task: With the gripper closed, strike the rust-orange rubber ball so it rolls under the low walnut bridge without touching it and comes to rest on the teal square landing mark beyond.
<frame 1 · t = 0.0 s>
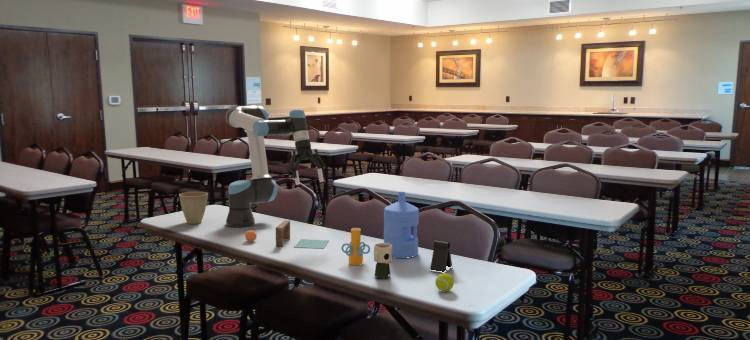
hand: (310, 183, 272), 28 cm above the table, tool tilted 20°, fingers open, 13 cm apart
orange post with rings: (355, 264, 238), on the table
character mug: (382, 277, 220), on the table
tennis ball: (444, 291, 206), on the table
landing mark: (311, 244, 267), on the table
plant pot: (194, 222, 307), on the table
bridge: (283, 242, 268), on the table
water jug: (400, 254, 252), on the table
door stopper: (441, 270, 231), on the table
ball: (250, 235, 270), on the table
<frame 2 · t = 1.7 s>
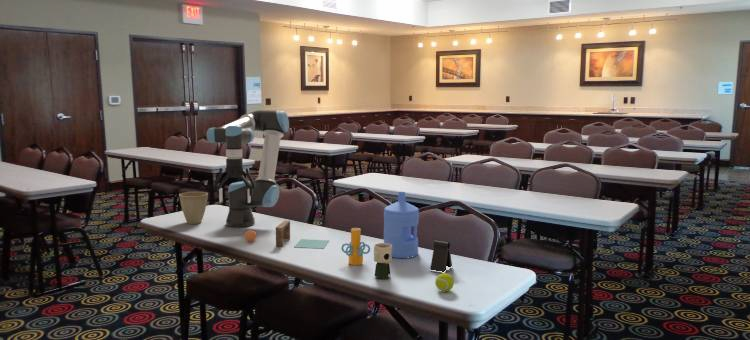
hand: (235, 202, 268), 19 cm above the table, tool pointing down, fingers open, 13 cm apart
nothing on the table moved.
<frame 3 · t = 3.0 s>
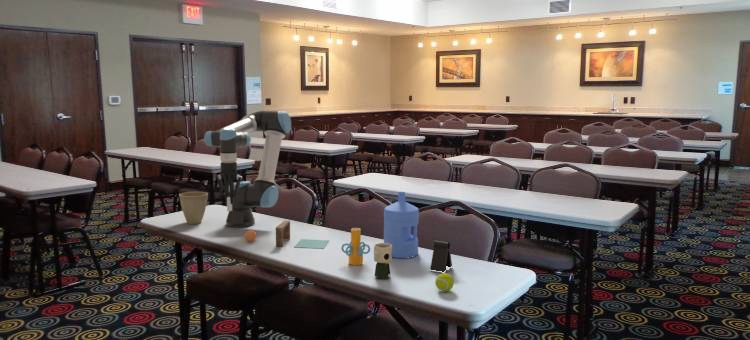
hand: (229, 210, 269), 15 cm above the table, tool pointing down, fingers closed
nothing on the table moved.
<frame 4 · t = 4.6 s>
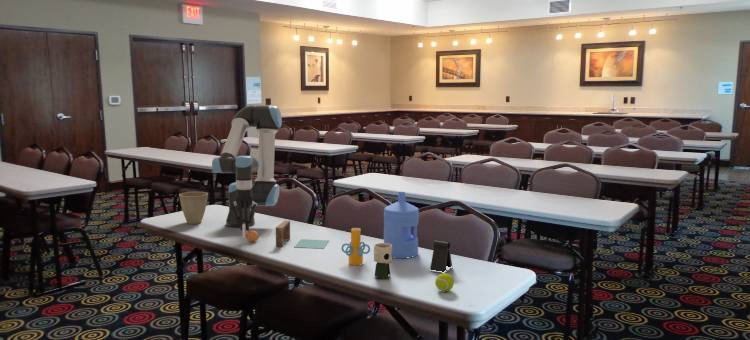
hand: (244, 237, 269), 2 cm above the table, tool pointing down, fingers closed
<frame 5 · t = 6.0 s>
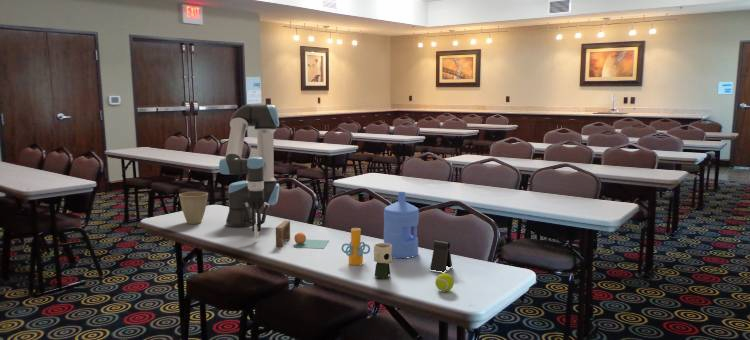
hand: (256, 237, 269), 2 cm above the table, tool pointing down, fingers closed
ball: (300, 238, 266), on the table
everything else where it was.
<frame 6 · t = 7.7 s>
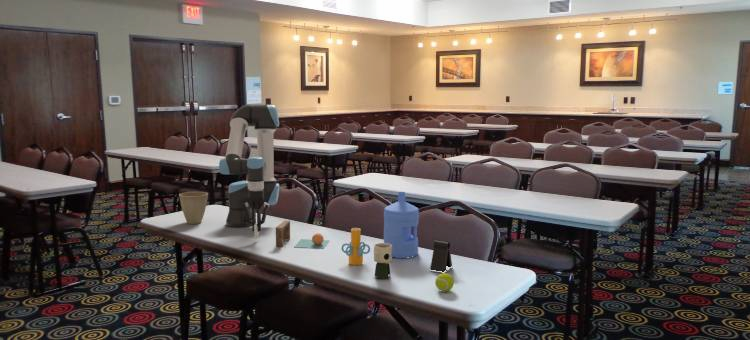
hand: (256, 237, 269), 2 cm above the table, tool pointing down, fingers closed
ball: (317, 239, 265), on the table
everything else where it was.
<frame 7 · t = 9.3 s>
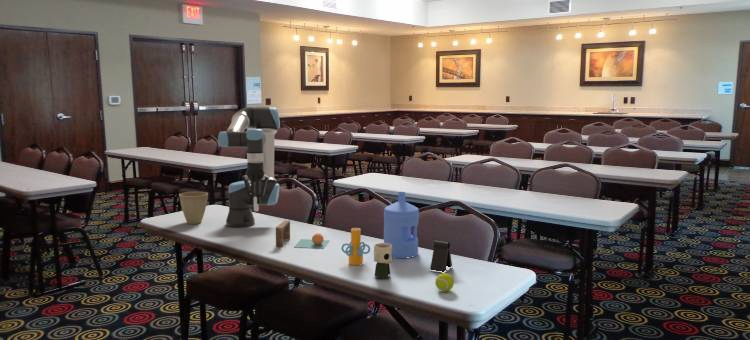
hand: (256, 210, 268), 15 cm above the table, tool pointing down, fingers closed
nothing on the table moved.
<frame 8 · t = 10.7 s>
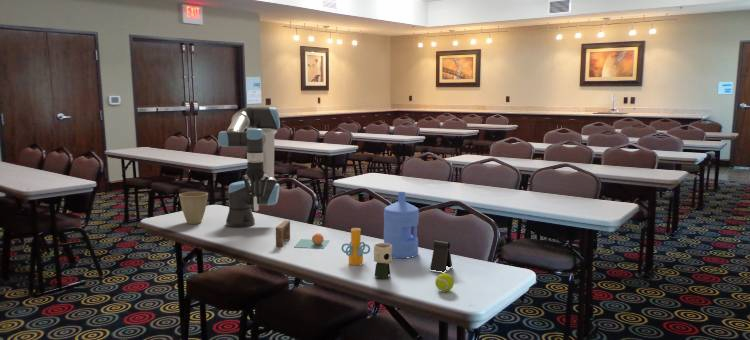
hand: (256, 210, 268), 15 cm above the table, tool pointing down, fingers closed
nothing on the table moved.
at the end: ball 3.2 cm from the landing mark (horizontally); ball never touched bridge; ball at rest at the end (0.0 cm/s) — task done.
